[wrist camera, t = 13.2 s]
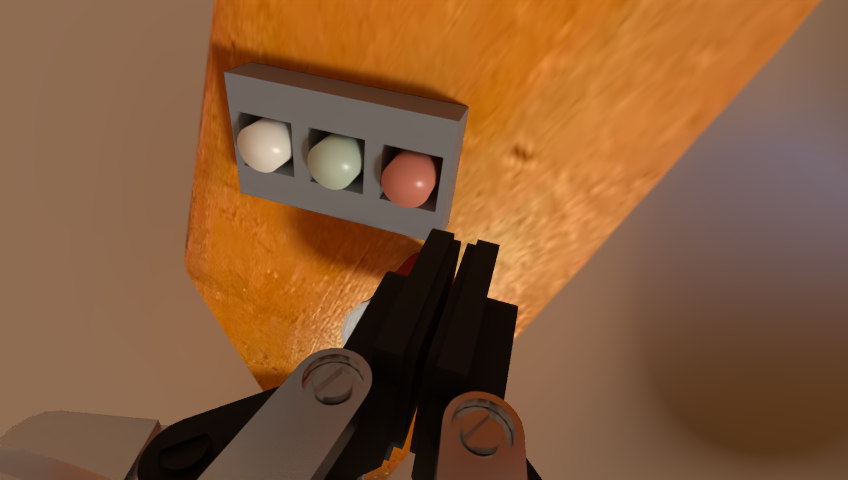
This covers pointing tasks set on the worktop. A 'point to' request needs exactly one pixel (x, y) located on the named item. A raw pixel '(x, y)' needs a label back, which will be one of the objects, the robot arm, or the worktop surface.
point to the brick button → (411, 177)
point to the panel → (356, 117)
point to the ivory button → (266, 144)
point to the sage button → (336, 160)
